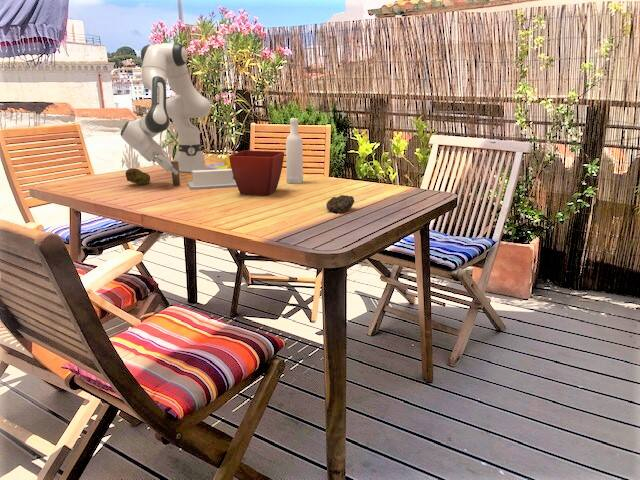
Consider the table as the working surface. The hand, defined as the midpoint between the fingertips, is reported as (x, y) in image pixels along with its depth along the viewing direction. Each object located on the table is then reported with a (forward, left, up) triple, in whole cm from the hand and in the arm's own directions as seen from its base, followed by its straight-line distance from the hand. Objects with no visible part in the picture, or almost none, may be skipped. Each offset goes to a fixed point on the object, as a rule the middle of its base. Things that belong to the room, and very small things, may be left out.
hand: (176, 172), depth 243 cm
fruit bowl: (-16, +30, -6) cm, 35 cm away
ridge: (+6, +15, -6) cm, 17 cm away
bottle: (+11, +53, -6) cm, 55 cm away
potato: (-8, -17, -6) cm, 19 cm away
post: (0, -1, -6) cm, 6 cm away
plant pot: (+29, +31, -6) cm, 43 cm away
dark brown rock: (+72, +52, -6) cm, 89 cm away
